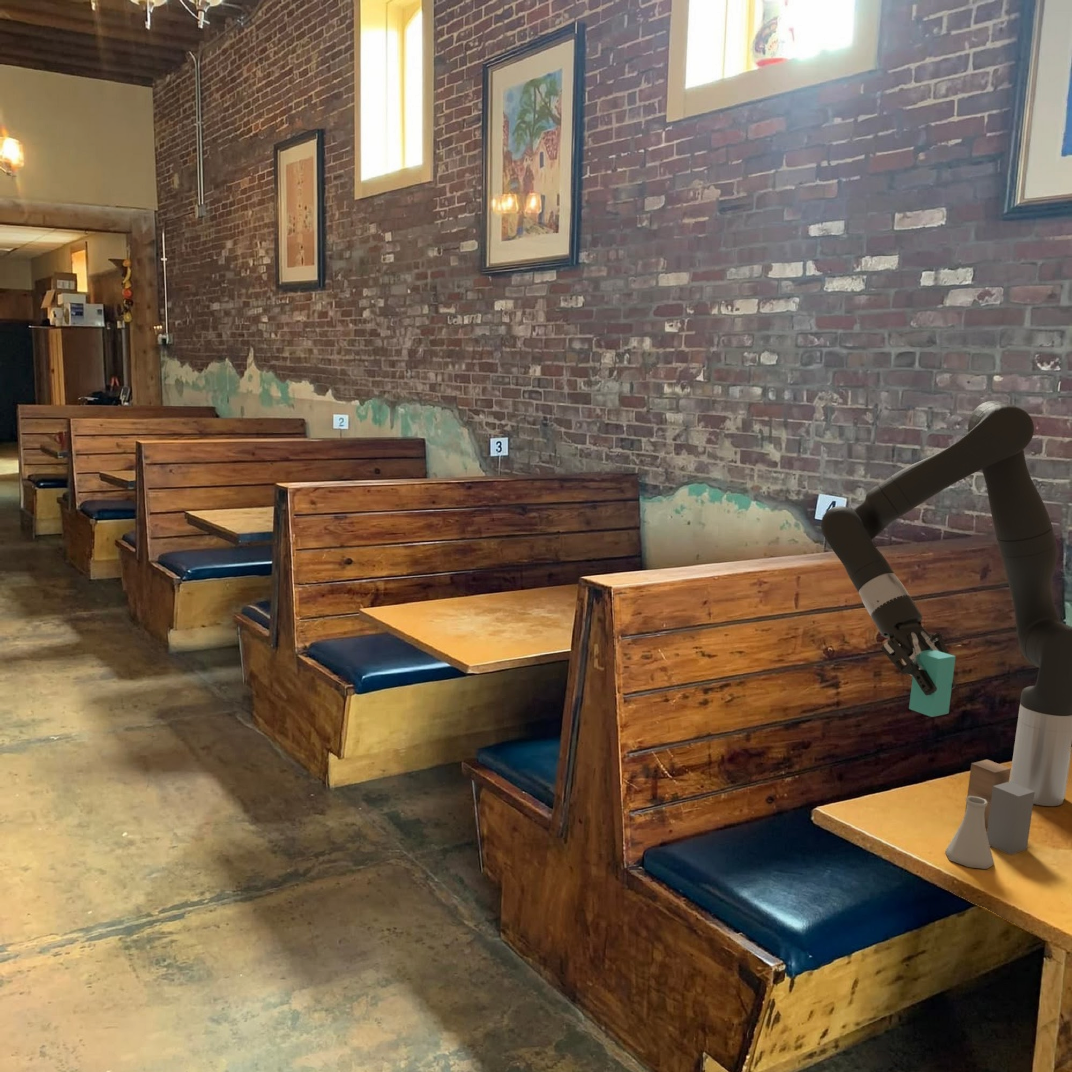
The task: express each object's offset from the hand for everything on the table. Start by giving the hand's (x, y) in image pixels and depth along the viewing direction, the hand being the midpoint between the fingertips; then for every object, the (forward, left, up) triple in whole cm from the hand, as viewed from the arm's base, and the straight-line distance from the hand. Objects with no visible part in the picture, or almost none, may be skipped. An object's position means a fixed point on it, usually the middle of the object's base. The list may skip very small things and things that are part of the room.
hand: (941, 690), depth 166 cm
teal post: (0, -2, -4) cm, 5 cm away
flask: (+4, +11, -24) cm, 27 cm away
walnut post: (-12, +3, -24) cm, 27 cm away
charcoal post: (-6, +11, -24) cm, 27 cm away
